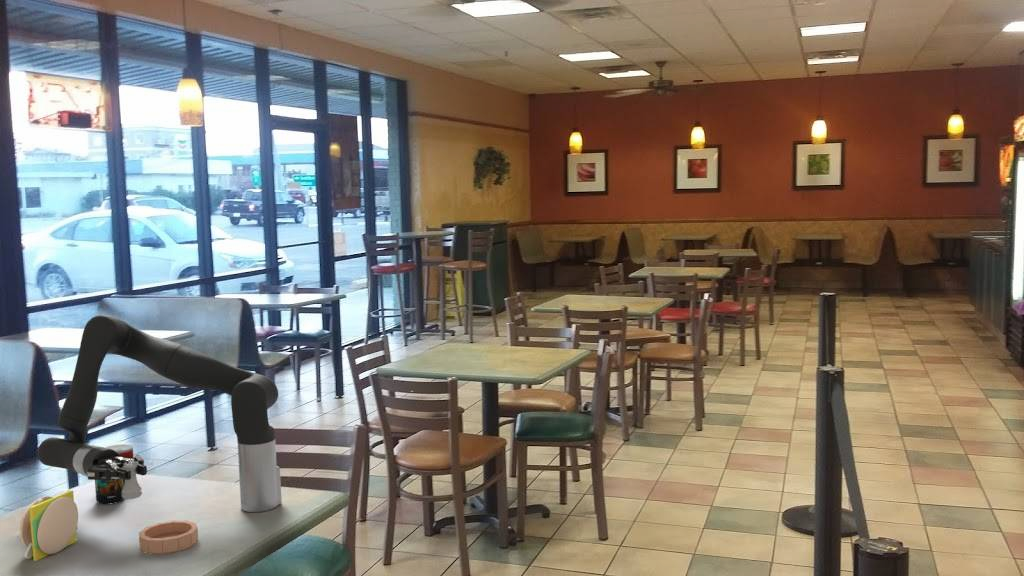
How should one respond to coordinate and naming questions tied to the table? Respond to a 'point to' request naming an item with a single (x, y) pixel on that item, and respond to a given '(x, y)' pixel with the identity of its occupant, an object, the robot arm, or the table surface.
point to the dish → (168, 537)
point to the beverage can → (109, 490)
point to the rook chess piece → (131, 483)
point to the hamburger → (49, 525)
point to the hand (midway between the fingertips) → (137, 472)
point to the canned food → (123, 451)
